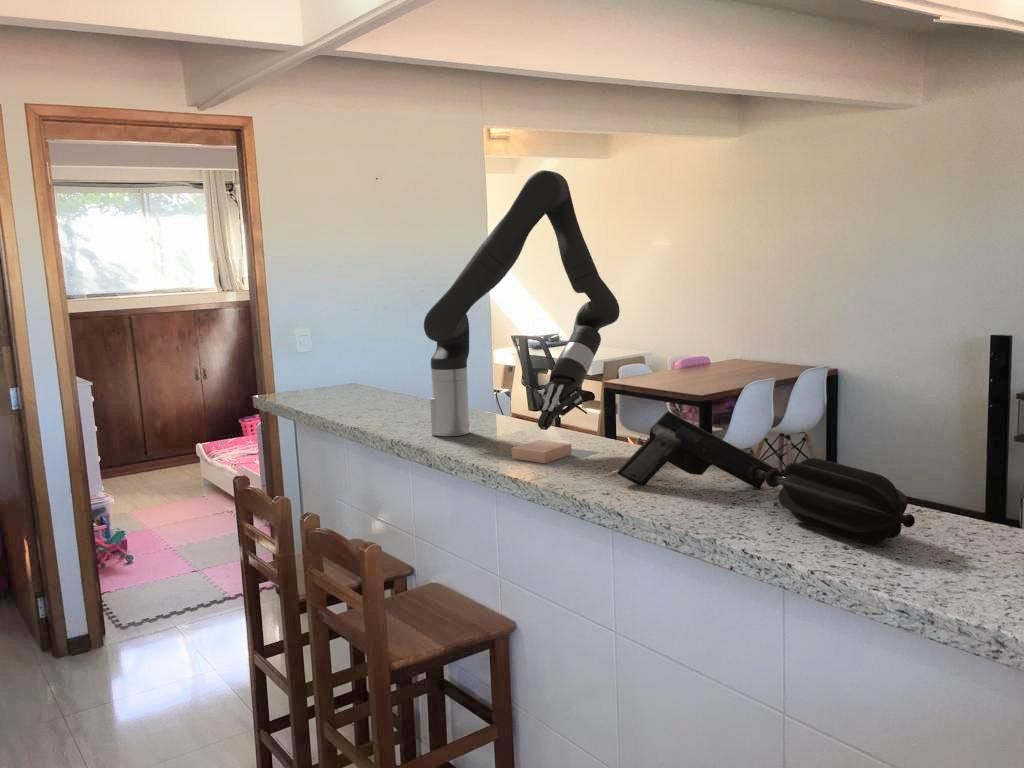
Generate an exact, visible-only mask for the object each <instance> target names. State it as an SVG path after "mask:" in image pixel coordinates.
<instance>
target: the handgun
mask: <svg viewBox="0 0 1024 768" xmlns="http://www.w3.org/2000/svg"><path fill="white" fill-rule="evenodd" d="M667 463H669V464H670V465H673V466H675V467H676V468H678V469H681V470H682V471H684V472H686V473H688V474H690V475H697V476H703V474H704V473H705V471H707V469H708V468H709V467H710V466H714V467H717V469H720V470H722V471H723V472H726V473H727V474H729V475H731V476H732V477H735V478H736V479H738V480H740V481H742V482H743V483H745V484H748V485H750V486H751V487H752V488H754V489H757V490H760V489H761V488H762V487H763V484H764V483H765V479H762V478H760V479H758V480H754V479H751V478H750V477H749V476H748V470H749V468H750V467H751V466H753V465H755V466H759V467H761V468H762V471H764V472H769V471H770V470H772V468H773V465H770V464H769V463H767V462H765V461H762V460H761V459H759V458H757V457H755V456H753V455H751V454H750V453H748V452H746V451H744V450H742V449H740V448H738V447H737V446H736V445H733V444H731V443H729V442H727V441H725V440H724V439H721V438H720V437H718V436H716V435H714V434H712V433H711V432H708V431H706V430H705V429H704V428H701V427H699V426H697V425H695V424H694V423H692V422H689V421H688V420H686V419H684V418H683V417H681V416H678V415H677V414H674V413H673V412H671V411H669V410H668V411H666V412H665V413H664V414H663V415H662V416H661V417H659V419H658V420H657V421H655V423H654V424H653V425H652V427H650V429H649V438H648V439H647V440H646V441H645V442H644V443H643V444H642V445H640V447H639V448H638V449H636V451H635V452H634V453H633V454H632V455H631V456H630V457H629V459H628V460H627V461H625V463H624V464H623V465H621V467H620V468H619V469H618V470H617V475H619V476H621V477H623V478H624V479H626V480H629V481H630V482H632V483H634V484H636V485H637V486H639V487H641V486H643V487H645V485H647V483H649V481H650V480H651V479H653V477H654V476H655V475H656V474H657V473H658V472H659V471H660V470H661V468H663V467H664V466H665V465H666V464H667Z"/></svg>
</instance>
